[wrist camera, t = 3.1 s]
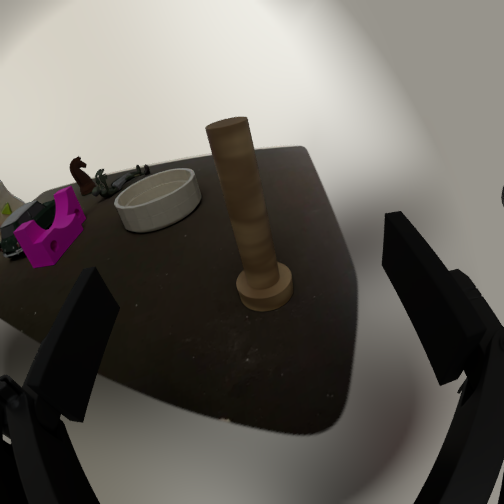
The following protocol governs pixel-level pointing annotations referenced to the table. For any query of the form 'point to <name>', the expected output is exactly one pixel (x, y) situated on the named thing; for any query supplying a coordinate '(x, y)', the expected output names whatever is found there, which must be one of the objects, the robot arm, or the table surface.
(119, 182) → the zombie figurine
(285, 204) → the table surface
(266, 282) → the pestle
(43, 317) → the table surface
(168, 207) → the bowl
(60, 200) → the toy block
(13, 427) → the robot arm
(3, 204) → the shape sorter
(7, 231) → the miniature car
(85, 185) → the chess piece
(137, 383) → the table surface
